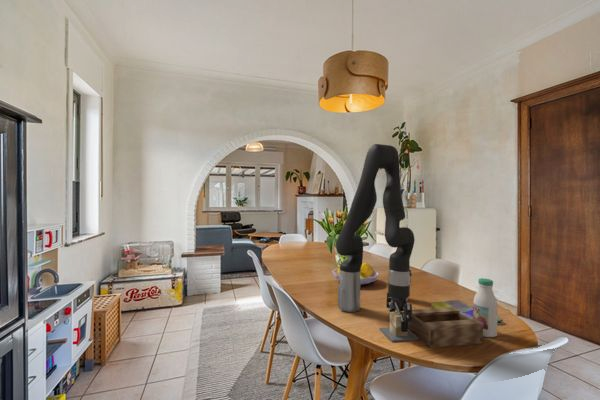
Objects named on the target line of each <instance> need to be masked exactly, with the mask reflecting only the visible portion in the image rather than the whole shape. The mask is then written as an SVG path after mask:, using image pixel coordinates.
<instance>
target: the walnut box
mask: <svg viewBox="0 0 600 400" xmlns="http://www.w3.org/2000/svg"><path fill="white" fill-rule="evenodd" d="M408 317H409V315H408ZM408 330H409V331H410V332H411V333H412V334H414V335H415V336H416V337H417V338H418V340H421V342H423V343H424V344H425V345H427V347H429V348H430V349H431V348H442V347H443V348H444V347H454V346H466V345H478V344H483V343H484V341H483V340H484V336H483V323H482V322H480V321H478V320H476V319H469V318H467V317H466V316H464V315H462V314H460V311H459V310H458V309H456V308H454V307H451V308H421V309H420V308H419V309H418V308H417V309H416V308H415V309H412V322H408Z"/></svg>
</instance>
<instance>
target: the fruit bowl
mask: <svg viewBox="0 0 600 400" xmlns="http://www.w3.org/2000/svg"><path fill="white" fill-rule="evenodd" d="M331 271H332V274H333V276H334V278H335V279H336V280H339V281H340V266H339V267H337V268H334V269H333V270H331ZM379 275H380V274H379V273H378V272H377V271H375V270H374V267H373V265H371V264H370V263H369V262H362V266H361V275H360V286H362V285H367V284H370V283H372V282H375V281H377V279H378V276H379Z"/></svg>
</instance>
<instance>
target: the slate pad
mask: <svg viewBox="0 0 600 400" xmlns="http://www.w3.org/2000/svg"><path fill="white" fill-rule="evenodd" d="M378 329H379V331H380V332H381V333H382V334H383V335H384V336H385V337H386V338H387V339H388V340H389V342H391V343H396V342H399V343H400V342H409V341H410V342H411V341H412V342H413V341H419V338H418V337H417V336H416V335H414V334H413V333H412V332H411V331H410V330H408V331H407V336H395V335H394V334H393V333H391V332H390V326H387V327H379V328H378Z"/></svg>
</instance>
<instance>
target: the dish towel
mask: <svg viewBox="0 0 600 400" xmlns="http://www.w3.org/2000/svg"><path fill="white" fill-rule="evenodd" d="M430 307H431V309H434V308H451V307H454V308H456V309H458V310H459V311H460V314H462V315H464V316H466V317H467V318H469V319H473V305H470V304H467V303H466V302H464V301H462V300H460V299H452V300H445V301H435V302H432V303H431V305H430ZM503 322H504V319H503V318H501V317H499V316H497V327H498V326H505V323H503Z"/></svg>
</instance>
